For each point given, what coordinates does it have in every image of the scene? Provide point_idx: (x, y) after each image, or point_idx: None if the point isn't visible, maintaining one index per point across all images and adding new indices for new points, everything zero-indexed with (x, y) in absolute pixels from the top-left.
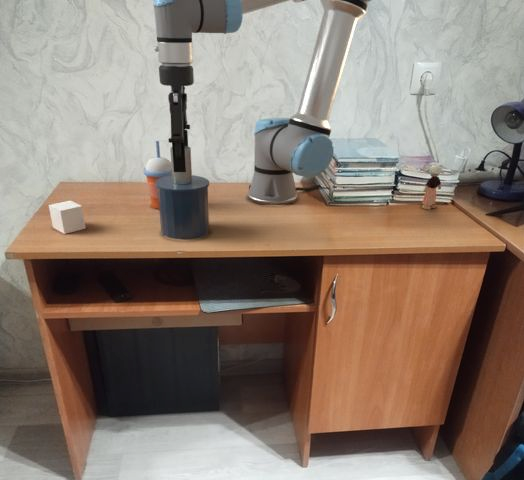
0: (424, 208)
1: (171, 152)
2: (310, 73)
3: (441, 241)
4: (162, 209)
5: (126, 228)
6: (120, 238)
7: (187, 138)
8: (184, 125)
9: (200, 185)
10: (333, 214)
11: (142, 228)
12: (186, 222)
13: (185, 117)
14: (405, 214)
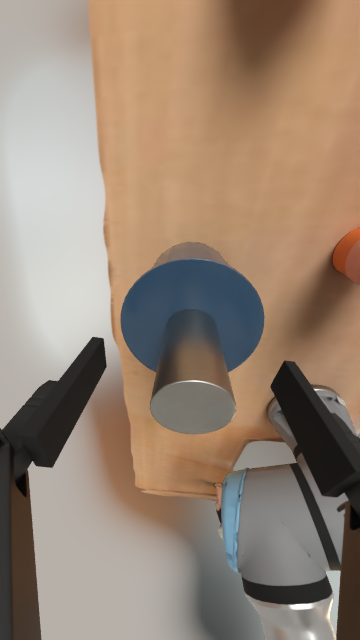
0: (217, 483)
1: (174, 371)
2: None
3: (142, 469)
4: (165, 258)
5: (238, 156)
6: (176, 141)
7: (301, 452)
8: (348, 527)
9: (156, 363)
10: (221, 437)
11: (229, 200)
12: None
13: (339, 621)
14: (206, 472)
